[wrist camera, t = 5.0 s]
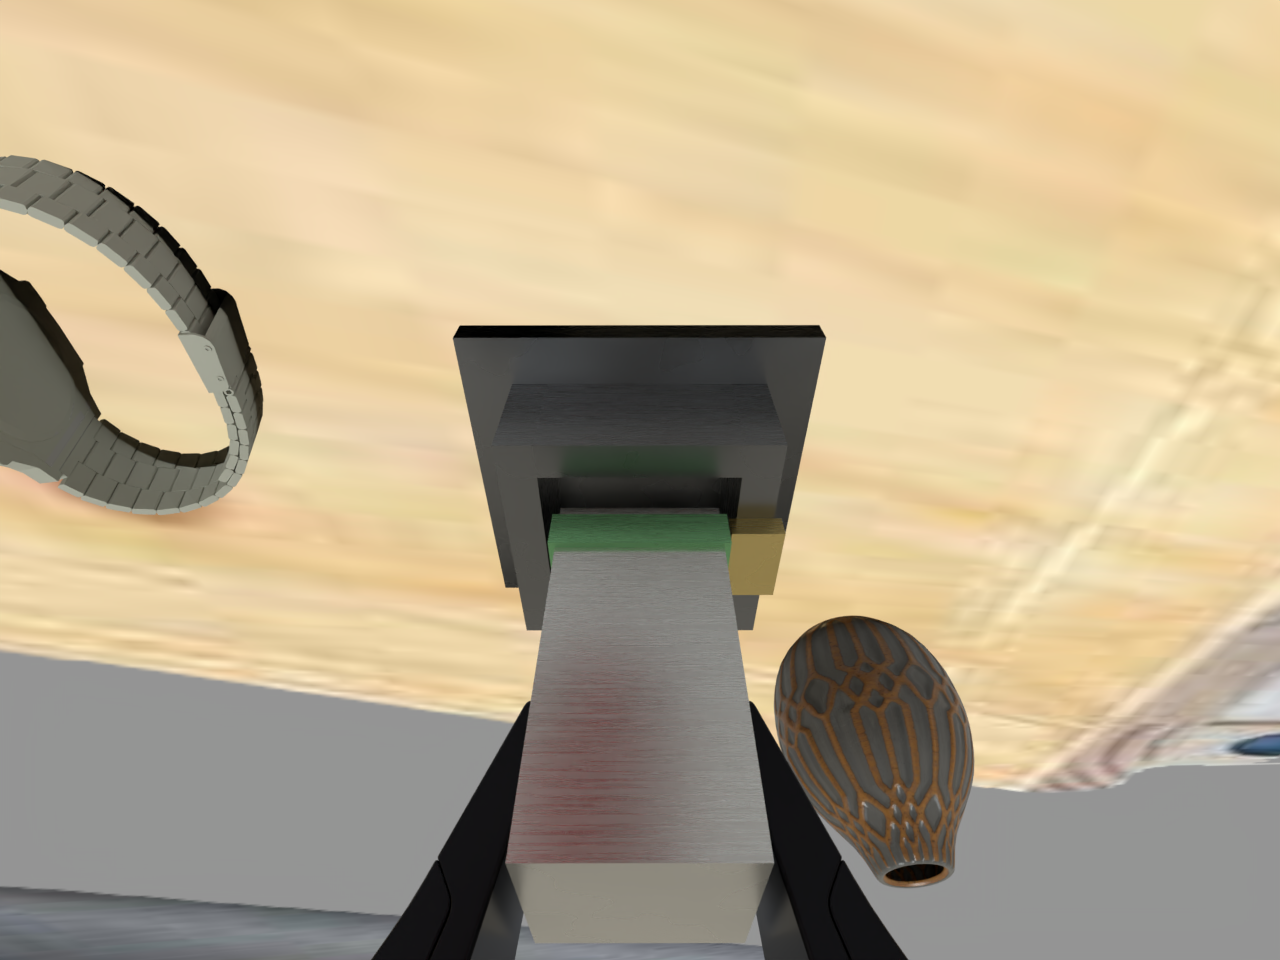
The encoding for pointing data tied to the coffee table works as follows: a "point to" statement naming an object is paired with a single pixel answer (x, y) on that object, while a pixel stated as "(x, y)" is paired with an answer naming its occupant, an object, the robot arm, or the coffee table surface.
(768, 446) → the stand base
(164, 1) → the coffee table surface
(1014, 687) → the coffee table surface
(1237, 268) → the coffee table surface
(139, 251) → the wristwatch
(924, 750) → the vase
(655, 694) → the post
